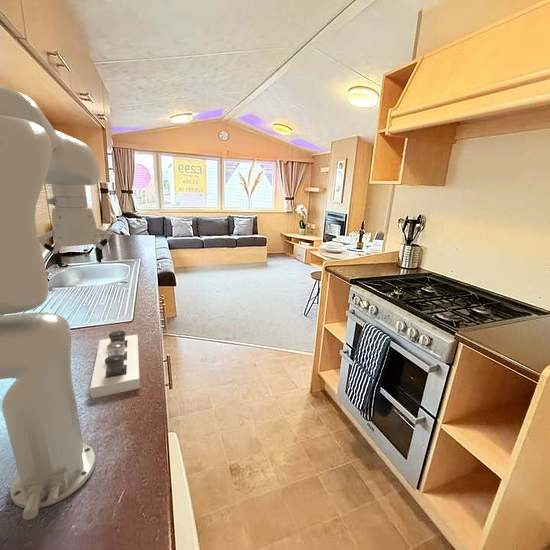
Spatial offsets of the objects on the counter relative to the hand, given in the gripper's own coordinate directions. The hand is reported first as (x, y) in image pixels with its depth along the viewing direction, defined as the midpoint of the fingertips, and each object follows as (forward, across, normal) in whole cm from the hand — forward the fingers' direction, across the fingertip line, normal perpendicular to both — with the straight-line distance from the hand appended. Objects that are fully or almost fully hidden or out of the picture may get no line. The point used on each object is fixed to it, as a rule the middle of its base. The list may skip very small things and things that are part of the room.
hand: (80, 264), depth 87 cm
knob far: (+26, +6, -6) cm, 27 cm away
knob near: (+26, +1, -20) cm, 33 cm away
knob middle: (+26, +4, -13) cm, 29 cm away
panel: (+28, +4, -13) cm, 32 cm away
